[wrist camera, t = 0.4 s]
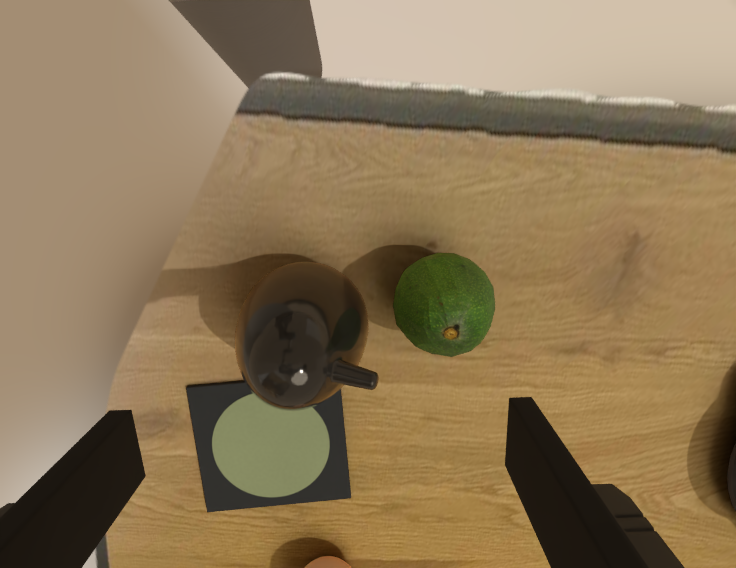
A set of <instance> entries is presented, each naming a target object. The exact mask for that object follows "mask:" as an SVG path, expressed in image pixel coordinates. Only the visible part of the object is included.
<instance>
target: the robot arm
mask: <svg viewBox="0 0 736 568" xmlns="http://www.w3.org/2000/svg"><path fill="white" fill-rule="evenodd" d="M505 466H506V468H507V471H508V473H509V475H510V477H511V480H512V482H513V484H514V486H515V488H516V491H517V493H518V495H519V497H520V500H521V502H522V504H523V506H524V508H525V511H526V513H527V515H528V517H529V520H530V522H531V524H532V526H533V529H534V531H535V533H536V535H537V537H538V540H539V542H540V544H541V546H542V549H543V551H544V553H545V555H546V557H547V560H548V562H549V564H550V566H551V568H684V567H683V565H682V564H681V563H680V561H679V560H678V559H677V557H676V556H675V555H674V554H673V552H672V551H671V550H670V548H669V547H668V546H667V545H666V543H665V542H664V541H663V539H662V538H661V537H660V536H659V534H658V533H657V532H656V531H654V528H653V526H652V525H651V524H650V523H649V521H648V520H647V519H646V517H643V514H642V512H641V511H640V510H639V508H638V507H637V506H636V505H635V503H634V502H633V501H632V499H631V498H630V497H629V496H627V495H626V494H625V493H623V492H622V491H621V490H619V489H618V488H617V487H615V486H614V485H613V484H591V483H590V481H589V480H588V479H587V477H586V476H585V474H584V473H583V471H582V470H581V468H580V467H579V466H578V464H577V463H576V461H575V460H574V458H573V457H572V455H571V454H570V452H569V451H568V450H567V448H566V447H565V445H564V444H563V442H562V441H561V439H560V438H559V436H558V435H557V434H556V432H555V431H554V429H553V428H552V426H551V425H550V423H549V422H548V420H547V419H546V418H545V416H544V415H543V413H542V412H541V410H540V409H539V407H538V406H537V404H536V403H535V402H534V400H533V399H532V397H519V398H509V410H508V425H507V441H506V457H505ZM144 478H145V471H144V466H143V462H142V457H141V452H140V448H139V443H138V438H137V434H136V429H135V424H134V420H133V415H132V410H114V411H109V412H108V413H107V414H106V415H105V416H104V417H102V418H101V420H99V421H98V422H97V423H96V424H95V425H94V427H92V428H91V429H90V430H89V431H88V432H87V433H86V434H85V435H84V436H83V437H82V438H81V439H80V440H79V441H78V442H77V443H76V444H75V445H74V446H73V447H72V448H71V449H70V450H69V451H68V452H67V453H66V454H65V455H64V456H63V457H62V458H61V459H60V460H59V461H58V462H57V463H56V464H55V465H54V466H53V467H51V468H50V469H49V471H47V473H45V474H44V476H42V477H41V478H40V479H39V480H38V481H37V482H36V483H35V484H34V485H33V486H32V487H31V488H30V489H29V490H28V491H27V492H26V493H25V494H24V495H23V496H22V497H21V498H20V499H19V500H18V501H17V502H16V503H9V504H6V505H5V506H3V507H2V508H0V568H82V567H83V565H84V564H85V562H86V561H87V559H88V558H89V557H90V555H91V553H92V552H93V551H94V549H95V548H96V546H97V545H98V544H99V542H100V541H101V539H102V538H103V536H104V535H105V534H106V532H107V531H108V529H109V528H110V526H111V525H112V524H113V522H114V521H115V519H116V518H117V516H118V515H119V513H120V512H121V511H122V509H123V508H124V506H125V505H126V503H127V502H128V501H129V499H130V498H131V496H132V495H133V493H134V492H135V491H136V489H137V488H138V486H139V485H140V483H141V482H142V480H143V479H144Z"/></svg>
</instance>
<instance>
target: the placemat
mask: <svg viewBox="0 0 736 568" xmlns="http://www.w3.org/2000/svg"><path fill="white" fill-rule="evenodd" d="M186 390H187V396H188V402H189V407H190V413H191V419H192V425H193V431H194V437H195V443H196V448H197V454H198V460H199V466H200V472H201V478H202V484H203V489H204V495H205V501H206V507H207V512H215V511H225V510H235V509H245V508H255V507H266V506H276V505H286V504H296V503H307V502H317V501H327V500H337V499H347V498H351V491H350V480H349V470H348V459H347V449H346V438H345V428H344V417H343V407H342V396H341V389H339V390H338V391H337V392H336V393H335V394H334V395H332V396H331V397H330V398H328V399H327V400H325V401H324V402H322V403H320V404H318V405H316V406H314V407H311V408H308V409H305V410H299V411H285V410H280V409H276V408H273V407H271V406H269V405H267V404H265V403H263V402H262V401H261V400H259V399H258V398H257V397H256V396H255V395H254V394H253V393H252V392H251V390H250V389H249V388H248V386H247V384H246V383H245V381H237V382H225V383H214V384H203V385H192V386H187V388H186Z"/></svg>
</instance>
